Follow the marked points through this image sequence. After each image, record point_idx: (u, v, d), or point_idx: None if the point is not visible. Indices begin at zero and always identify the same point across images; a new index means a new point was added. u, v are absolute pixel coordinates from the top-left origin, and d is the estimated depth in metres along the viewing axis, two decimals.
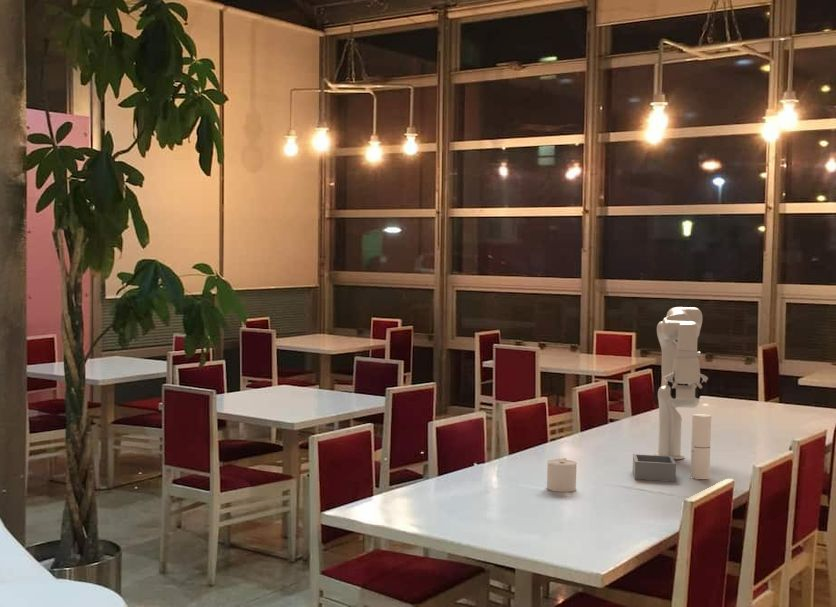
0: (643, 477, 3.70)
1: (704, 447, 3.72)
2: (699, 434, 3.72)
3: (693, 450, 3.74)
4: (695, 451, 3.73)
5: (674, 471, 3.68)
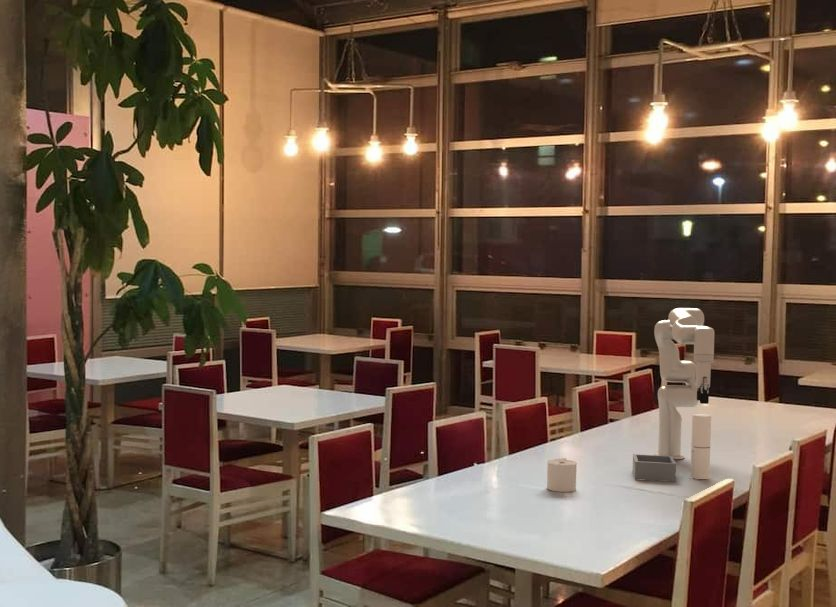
0: (643, 477, 3.70)
1: (704, 447, 3.72)
2: (699, 434, 3.72)
3: (693, 450, 3.74)
4: (695, 451, 3.73)
5: (674, 471, 3.68)
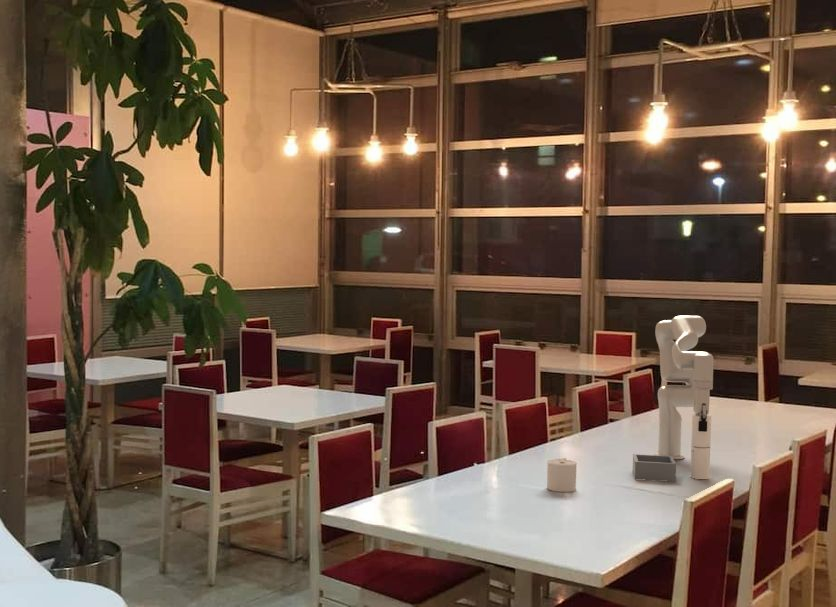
0: (643, 477, 3.70)
1: (704, 447, 3.72)
2: (699, 434, 3.72)
3: (693, 450, 3.74)
4: (695, 451, 3.73)
5: (674, 471, 3.68)
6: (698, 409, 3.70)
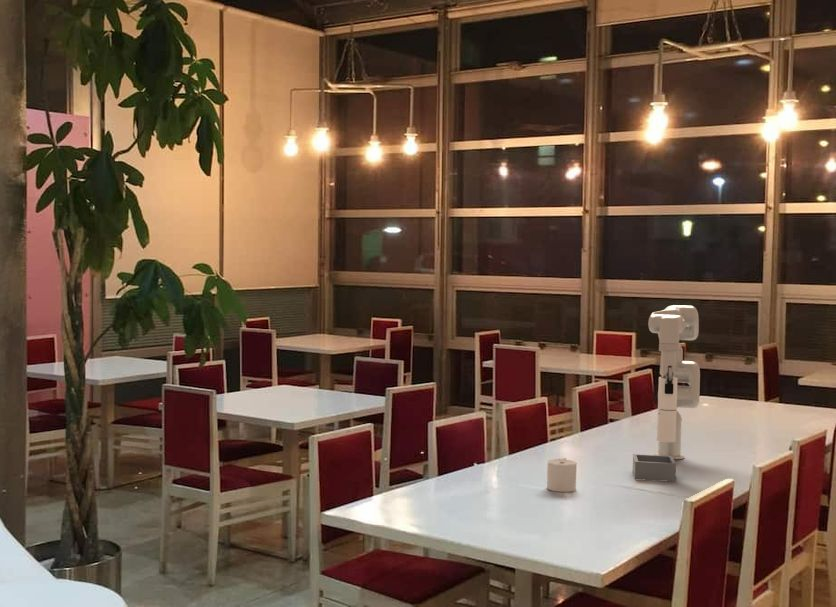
0: (643, 477, 3.70)
1: (670, 410, 3.72)
2: (666, 397, 3.72)
3: (659, 413, 3.74)
4: (661, 414, 3.73)
5: (674, 471, 3.68)
6: (664, 371, 3.70)
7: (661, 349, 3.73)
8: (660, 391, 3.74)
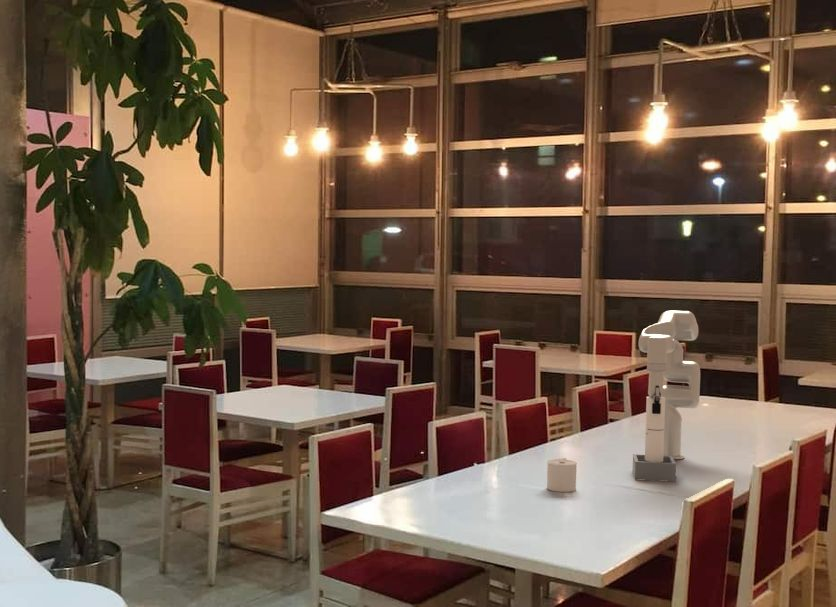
0: (643, 477, 3.70)
1: (658, 429, 3.73)
2: (653, 417, 3.73)
3: (647, 432, 3.75)
4: (649, 433, 3.74)
5: (674, 471, 3.68)
6: (651, 391, 3.71)
7: (649, 369, 3.74)
8: (648, 411, 3.75)
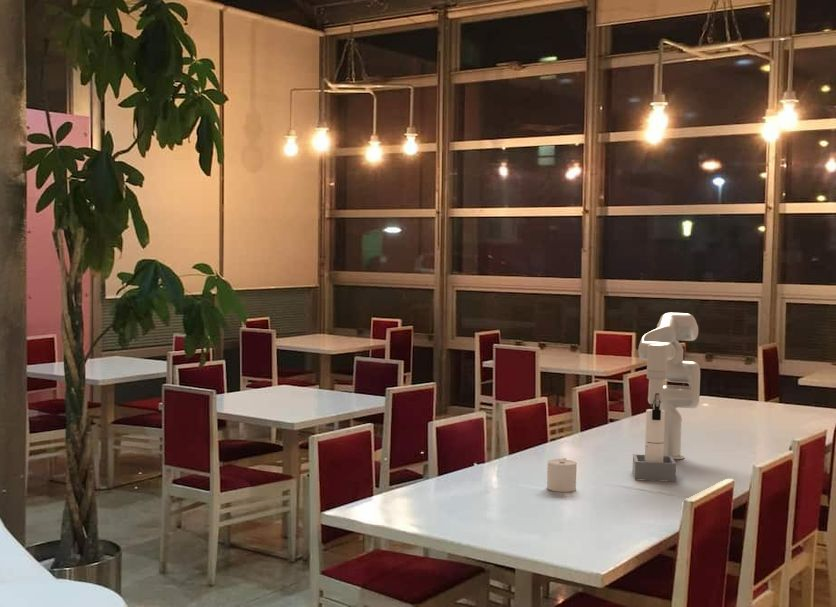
0: (643, 477, 3.70)
1: (657, 442, 3.73)
2: (653, 430, 3.73)
3: (647, 445, 3.75)
4: (649, 446, 3.75)
5: (674, 471, 3.68)
6: (651, 399, 3.71)
7: (648, 376, 3.74)
8: (647, 424, 3.75)
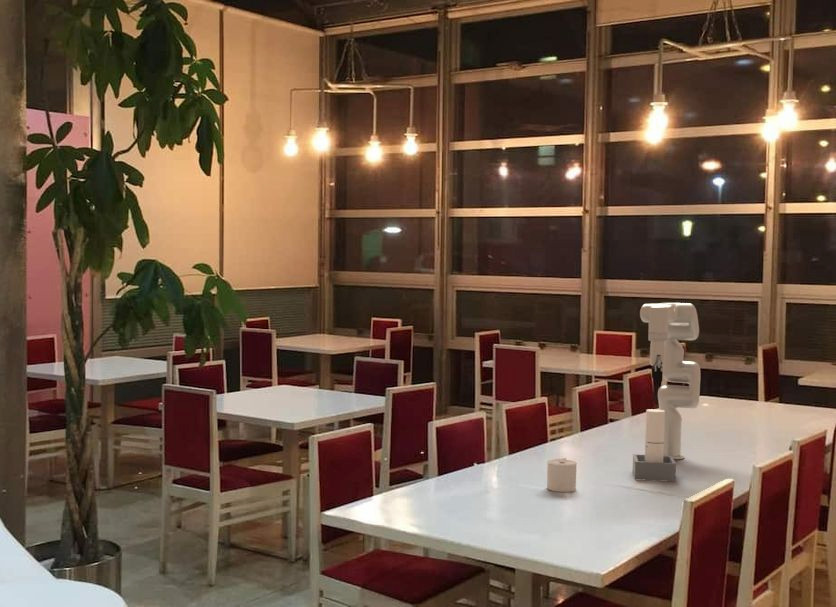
0: (643, 477, 3.70)
1: (657, 442, 3.73)
2: (653, 430, 3.73)
3: (647, 445, 3.75)
4: (649, 446, 3.75)
5: (674, 471, 3.68)
6: (653, 360, 3.74)
7: (650, 338, 3.76)
8: (647, 424, 3.75)
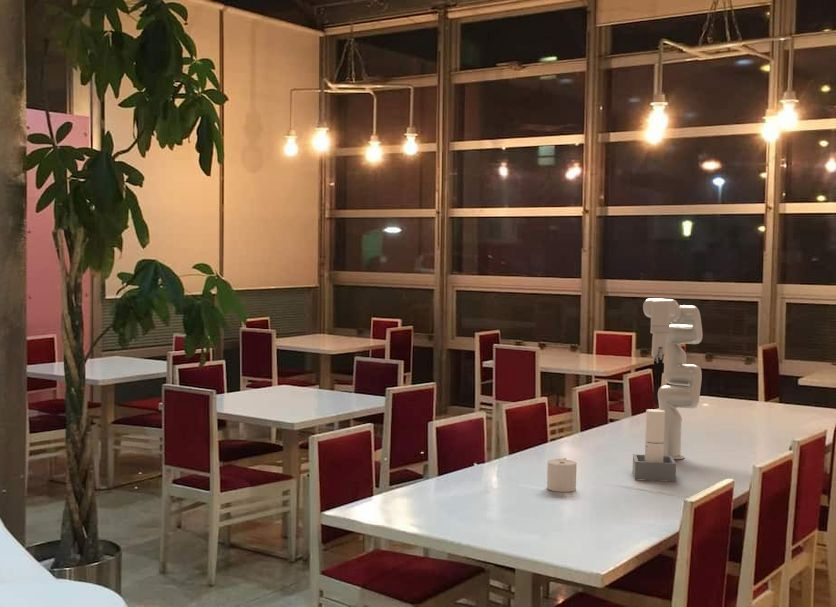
0: (643, 477, 3.70)
1: (657, 442, 3.73)
2: (653, 430, 3.73)
3: (647, 445, 3.75)
4: (649, 446, 3.75)
5: (674, 471, 3.68)
6: (655, 353, 3.84)
7: (652, 331, 3.87)
8: (647, 424, 3.75)
